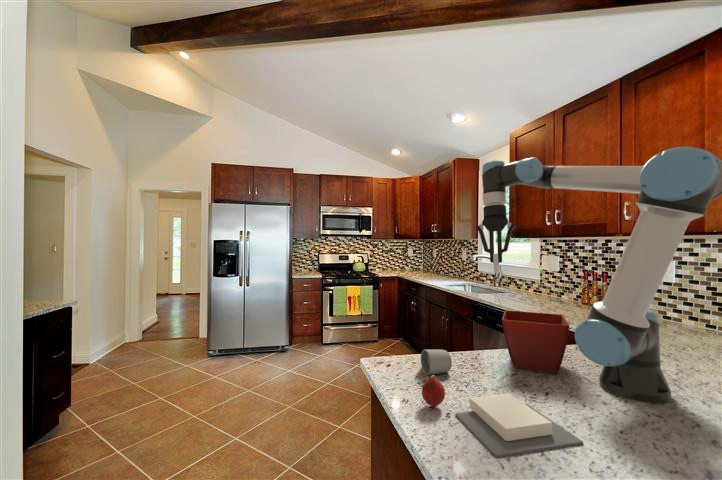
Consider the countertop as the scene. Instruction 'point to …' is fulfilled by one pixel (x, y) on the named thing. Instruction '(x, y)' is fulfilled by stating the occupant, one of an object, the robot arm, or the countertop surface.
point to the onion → (433, 392)
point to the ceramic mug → (435, 361)
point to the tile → (510, 417)
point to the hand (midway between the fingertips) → (496, 272)
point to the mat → (519, 446)
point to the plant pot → (535, 340)
